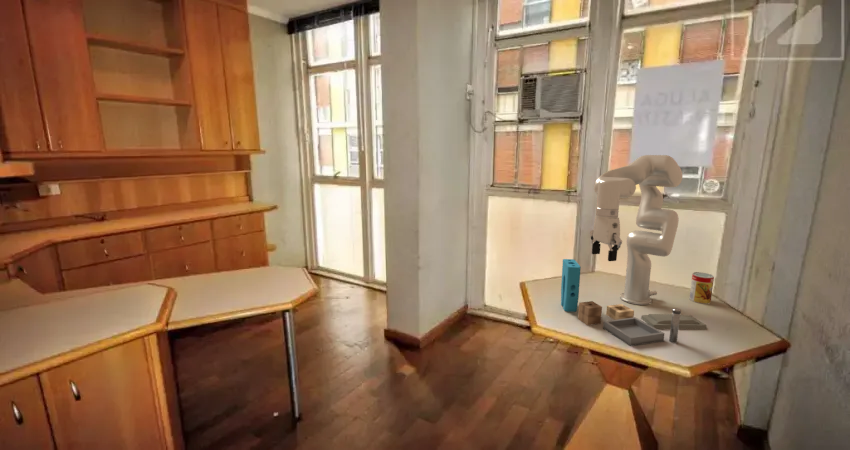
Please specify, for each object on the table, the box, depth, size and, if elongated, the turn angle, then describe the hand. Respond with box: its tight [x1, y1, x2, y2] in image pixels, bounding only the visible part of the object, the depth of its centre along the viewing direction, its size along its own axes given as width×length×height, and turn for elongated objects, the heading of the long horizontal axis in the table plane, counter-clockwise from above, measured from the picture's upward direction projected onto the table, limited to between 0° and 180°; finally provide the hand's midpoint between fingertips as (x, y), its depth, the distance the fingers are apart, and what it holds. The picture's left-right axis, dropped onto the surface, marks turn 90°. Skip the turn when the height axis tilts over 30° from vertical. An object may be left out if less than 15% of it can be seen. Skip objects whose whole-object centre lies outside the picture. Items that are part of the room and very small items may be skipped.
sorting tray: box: [602, 316, 666, 347], centre depth 146 cm, size 14×14×3 cm
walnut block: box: [577, 300, 603, 326], centre depth 157 cm, size 6×6×7 cm
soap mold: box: [640, 313, 708, 330], centre depth 155 cm, size 10×20×4 cm, turn 88°
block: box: [560, 258, 582, 313], centre depth 169 cm, size 12×5×20 cm, turn 172°
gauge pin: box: [668, 307, 682, 344], centre depth 139 cm, size 2×2×12 cm
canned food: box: [688, 271, 715, 305], centre depth 176 cm, size 8×8×12 cm
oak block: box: [605, 303, 635, 320], centre depth 160 cm, size 7×7×4 cm
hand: (603, 257), depth 150 cm, fingers open, 9 cm apart
